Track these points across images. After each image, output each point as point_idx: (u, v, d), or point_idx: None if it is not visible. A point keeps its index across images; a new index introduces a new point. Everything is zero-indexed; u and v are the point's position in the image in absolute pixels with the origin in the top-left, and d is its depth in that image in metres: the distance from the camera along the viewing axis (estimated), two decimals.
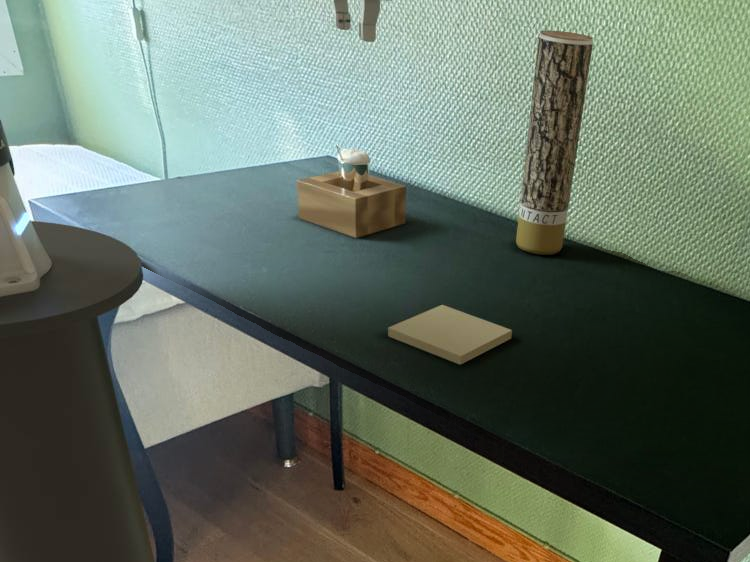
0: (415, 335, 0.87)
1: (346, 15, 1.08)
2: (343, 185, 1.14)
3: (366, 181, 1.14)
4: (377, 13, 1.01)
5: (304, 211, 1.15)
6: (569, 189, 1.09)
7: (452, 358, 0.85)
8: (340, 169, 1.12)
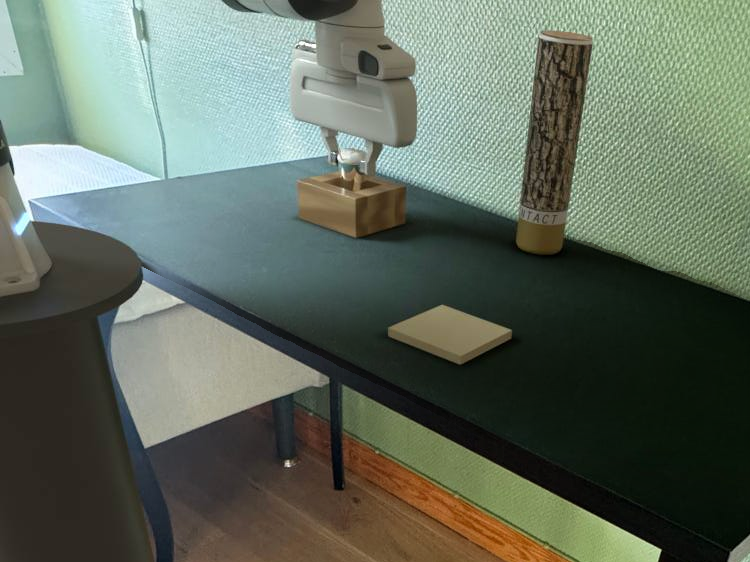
0: (415, 335, 0.87)
1: None
2: (343, 185, 1.14)
3: (366, 181, 1.14)
4: (380, 152, 1.10)
5: (304, 211, 1.15)
6: (569, 189, 1.09)
7: (452, 358, 0.85)
8: (340, 169, 1.12)
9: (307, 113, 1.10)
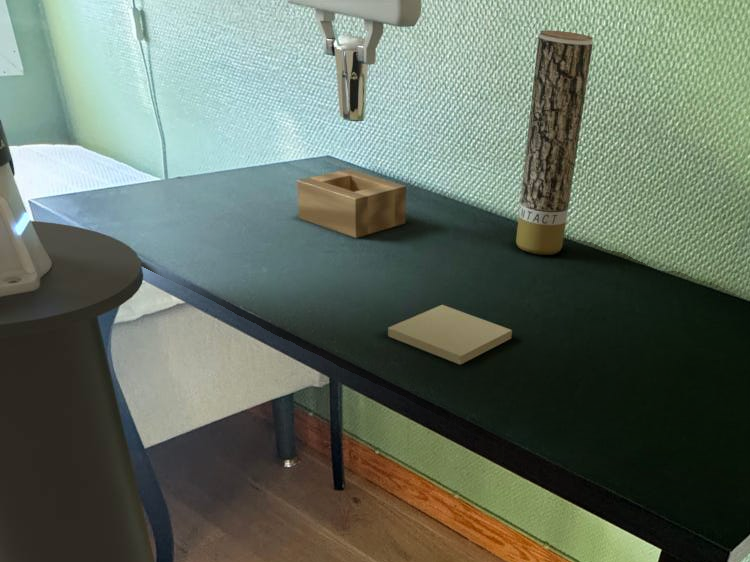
0: (415, 335, 0.87)
1: None
2: (340, 76, 1.04)
3: (365, 72, 1.04)
4: (380, 36, 1.01)
5: (304, 211, 1.15)
6: (569, 189, 1.09)
7: (452, 358, 0.85)
8: (336, 57, 1.03)
9: None
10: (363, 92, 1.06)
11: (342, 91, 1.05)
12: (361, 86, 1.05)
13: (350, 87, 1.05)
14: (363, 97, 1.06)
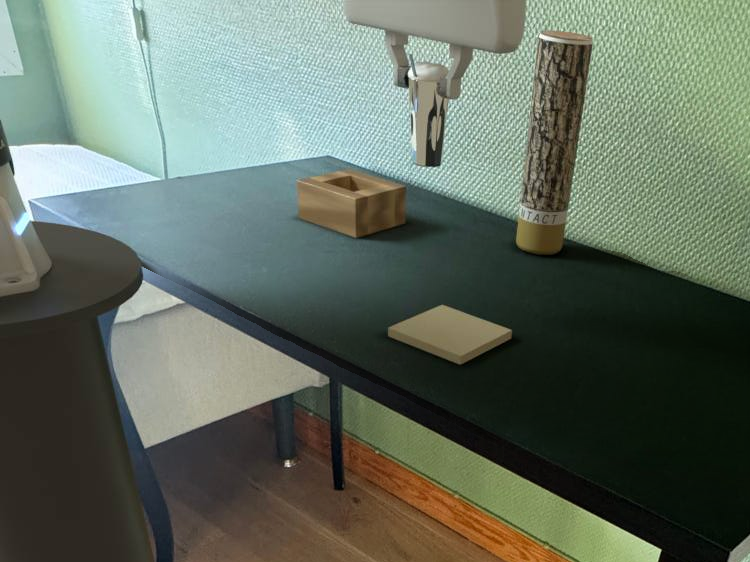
0: (415, 335, 0.87)
1: None
2: (415, 113, 0.84)
3: (446, 107, 0.84)
4: (468, 64, 0.80)
5: (304, 211, 1.15)
6: (569, 189, 1.09)
7: (452, 358, 0.85)
8: (411, 90, 0.82)
9: (367, 11, 0.80)
10: (442, 132, 0.85)
11: (417, 131, 0.85)
12: (440, 125, 0.85)
13: (427, 127, 0.84)
14: (442, 138, 0.86)
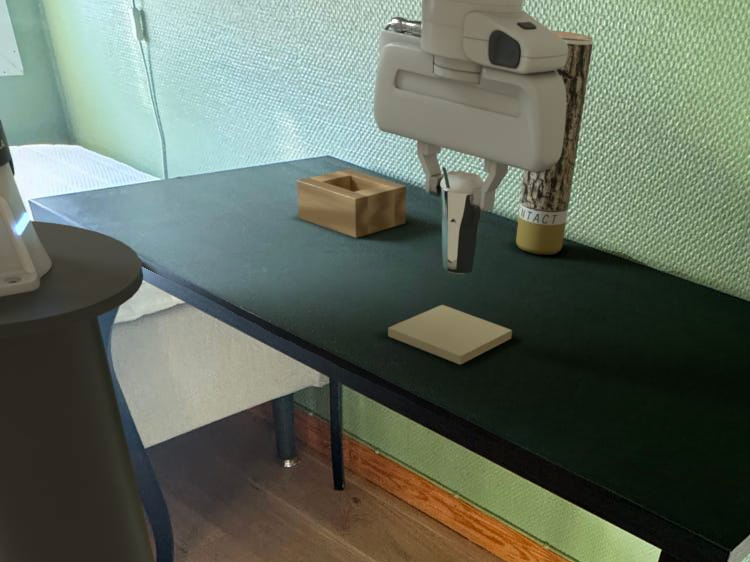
0: (415, 335, 0.87)
1: None
2: (447, 222, 0.81)
3: (479, 216, 0.81)
4: (503, 177, 0.78)
5: (304, 211, 1.15)
6: (569, 189, 1.09)
7: (452, 358, 0.85)
8: (444, 200, 0.80)
9: (399, 122, 0.78)
10: (474, 239, 0.83)
11: (448, 239, 0.82)
12: (472, 234, 0.82)
13: (459, 235, 0.82)
14: (474, 245, 0.83)
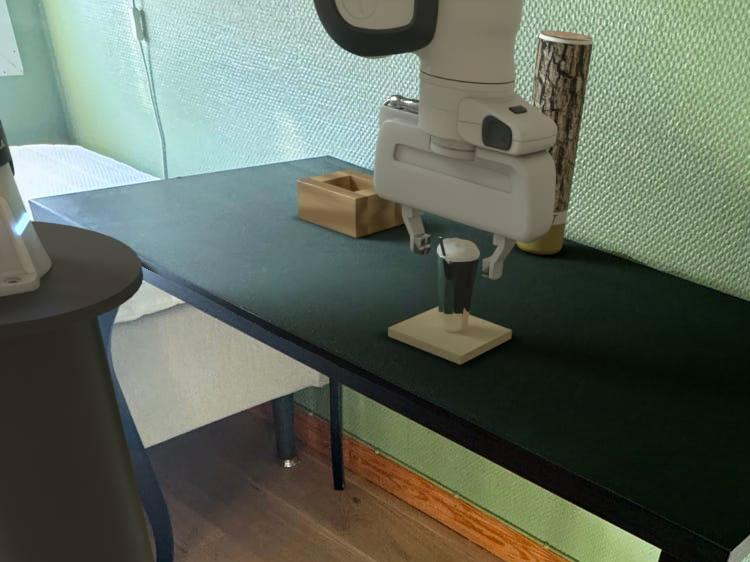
0: (415, 335, 0.87)
1: (427, 238, 0.85)
2: (443, 286, 0.85)
3: (473, 280, 0.86)
4: (511, 248, 0.81)
5: (304, 211, 1.15)
6: (569, 189, 1.09)
7: (452, 358, 0.85)
8: (440, 266, 0.84)
9: (397, 191, 0.82)
10: (469, 301, 0.87)
11: (444, 302, 0.87)
12: (467, 296, 0.86)
13: (454, 298, 0.86)
14: (469, 306, 0.87)
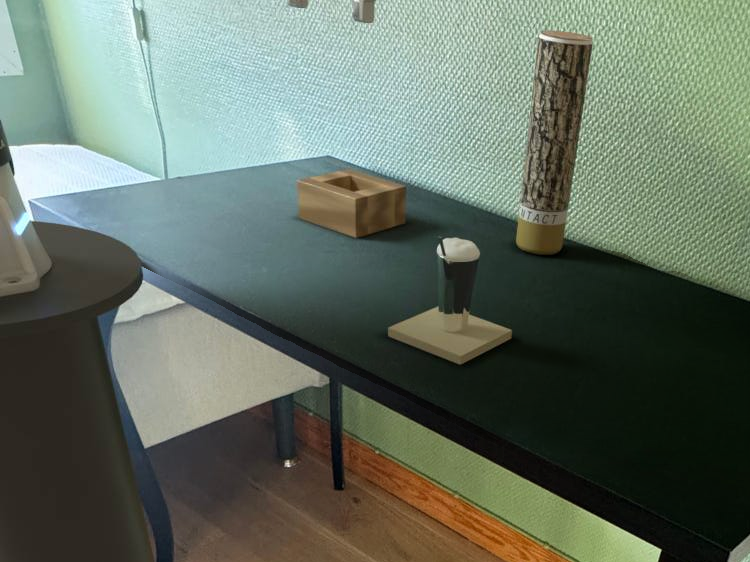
0: (415, 335, 0.87)
1: None
2: (443, 286, 0.85)
3: (473, 280, 0.86)
4: None
5: (304, 211, 1.15)
6: (569, 189, 1.09)
7: (452, 358, 0.85)
8: (440, 266, 0.84)
9: None
10: (469, 301, 0.87)
11: (444, 302, 0.87)
12: (467, 296, 0.86)
13: (454, 298, 0.86)
14: (469, 306, 0.87)
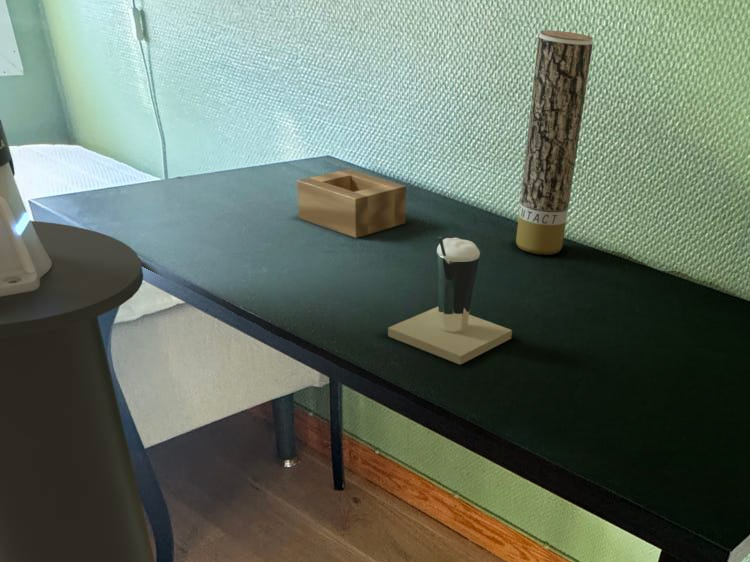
0: (415, 335, 0.87)
1: None
2: (443, 286, 0.85)
3: (473, 280, 0.86)
4: None
5: (304, 211, 1.15)
6: (569, 189, 1.09)
7: (452, 358, 0.85)
8: (440, 266, 0.84)
9: None
10: (469, 301, 0.87)
11: (444, 302, 0.87)
12: (467, 296, 0.86)
13: (454, 298, 0.86)
14: (469, 306, 0.87)
